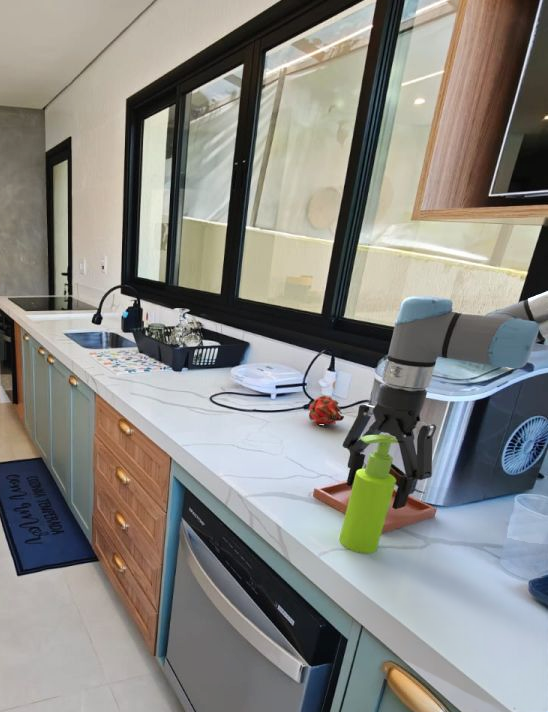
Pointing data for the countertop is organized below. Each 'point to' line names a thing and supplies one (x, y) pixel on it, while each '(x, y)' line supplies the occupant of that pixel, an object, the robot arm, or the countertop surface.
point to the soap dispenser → (369, 498)
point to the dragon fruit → (325, 411)
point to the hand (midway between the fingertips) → (374, 495)
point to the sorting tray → (395, 518)
